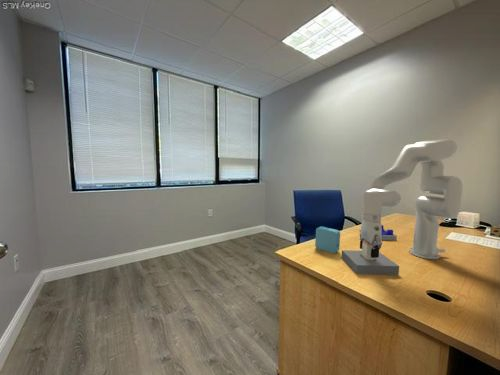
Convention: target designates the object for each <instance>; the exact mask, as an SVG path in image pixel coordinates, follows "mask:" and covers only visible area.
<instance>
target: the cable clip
mask: <svg viewBox="0 0 500 375" xmlns="http://www.w3.org/2000/svg"><path fill="white" fill-rule="evenodd" d="M381 227H382V235H393V234H394V229H387V230H386V231H387V232H386V233H385V231H384V230H385V228H384V225H383V224H381Z"/></svg>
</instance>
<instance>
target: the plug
mask: <svg viewBox="0 0 500 375" xmlns="http://www.w3.org/2000/svg"><path fill="white" fill-rule="evenodd" d="M373 242H375V241H373ZM375 245H376V244H374V246H375ZM371 249H372V245H371V243H369V242H367V241H366V240H363V243H362V249H361V251H362V258H364V259H365V260H375V258H372V257H371Z"/></svg>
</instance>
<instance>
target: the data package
mask: <svg viewBox="0 0 500 375" xmlns="http://www.w3.org/2000/svg"><path fill="white" fill-rule="evenodd" d="M340 243H341V232H340V230H338V229H335V228H330V227H326V226H319V227H317V228H316V229H315V243H314V244H315V248H316V249H318V250H321V251H325V252H328V253H330V254H336V253H338V252H339V251H340V245H341V244H340Z"/></svg>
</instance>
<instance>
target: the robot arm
mask: <svg viewBox="0 0 500 375" xmlns="http://www.w3.org/2000/svg"><path fill="white" fill-rule="evenodd" d="M457 148H458V147H457V143H456V142H455V140H453V139H451V138H447V139H446V138H445V139H443V138H442V139H434V140H433V139H430V140H422V141H421V140H420V141H417V142H415V143H411V144H407V145H405V146H404V147H402V149H401V150H400V153H399V154H398V155H397V157H396V159H395V160H394V162H393V164H392V166H391V167H390V169H387V170H386V171H385V172H383V173H382V174H380V175H379V176H377V177H376V178H375V179H374V180H373V181H372V182H371V184H370V186H369V187H368V189H367V190H365V191H364V192H363V199H362V212H361V225H360V229H359V232H358V233H359V237H360V238H359V250H360V249H361V250H362V243H363V240H366V241H367V242H369V243H371V245H372V249H371V257H372V258H378V257H379V252H380V250H381V248H382V245H383V240H382V227H381V225H382V211H383V210H382V209H383V208H382V207H390V208H392V207H395V206H397V205H399V204H400V202H401V199H402V198H401V195H400V193H399V192H397V191H395V190H392V189H386V188H385V187H387V186H388V185H390V184H392V183H396V182H400V181H403V180H406V179H409V178H410V177H411V176H412V174H413V172H414V170H416V169H415V168H416V167H417V165H418V164H419V163H420V165H421V173H420V184H419V186H420V188H419V189H420V190H421V192H423V193H427V194H432V195H433V196H432V195H419V196H418V197H417V198H416V199H415V201H414V210H415V220H414V222H415V224H414V233H413V240H412V241H413V242H412V243H413V244H412V248H411V247H410V248H409V249H408V252H409V253H410V254H411V255H413V256H415V257H418V258H422V259H427V260H439V259H440V254H439V253H442V254H444V253H446V250H445V248H439V247H437V244H438V237H439V227H440V223H439V220H438V218H437V217H439V218H445V219H454V218H457V217H458V215H459V214H460V211H461V210H460V209H461V205H462V204H461V203H462V197H463V182H462V180H461V179H460V178H459V177H458V176H456V175H455V176H454V175H444V168H445V167H444V166H445V165H444V163H443V161H442V160H445V159H449V158H450V157H452V156H453V155H455V153H456V151H457ZM384 188H385V189H384ZM434 195H440V196H443V197H440V196H434ZM373 241H374V242H373ZM374 244H376V245H375V246H374Z"/></svg>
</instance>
